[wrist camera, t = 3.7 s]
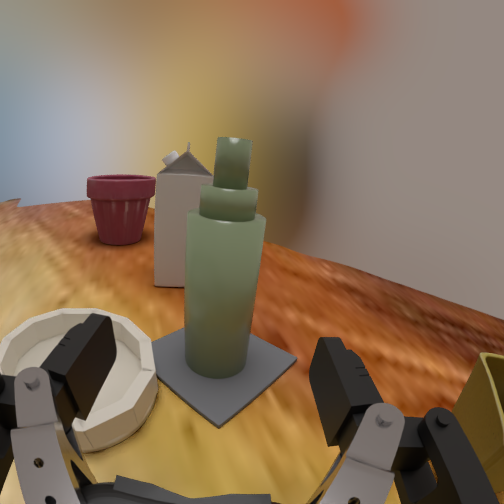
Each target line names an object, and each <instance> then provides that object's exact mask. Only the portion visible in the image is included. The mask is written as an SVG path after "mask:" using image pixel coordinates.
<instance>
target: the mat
mask: <svg viewBox="0 0 504 504" xmlns="http://www.w3.org/2000/svg"><path fill="white" fill-rule="evenodd" d="M151 344H152V351H153V358H154V364H155V370H156V377H157V378H158V379H160V380H161V381H162V382H163V383H164V384H165V385H166V386H167V387H168V388H169V389H171V390H172V391H173V392H174V393H175V394H176V395H177V396H179V397H180V398H181V399H182V400H183V401H184V402H186V403H187V404H188V405H189V406H190V407H192V408H193V409H194V410H195V411H197V412H198V413H199V414H200V415H202V416H203V417H204V418H205V419H207V420H208V421H209V422H211V423H212V424H213V425H215V426H216V427H217V428H220V427H221V426H222V425H224V424H225V423H226V422H228V421H229V420H230V419H231V418H233V417H234V416H235V415H236V414H237V413H239V412H240V411H241V410H242V409H244V408H245V407H246V406H247V405H248V404H249V403H251V402H252V401H253V400H254V399H255V398H257V397H258V396H259V395H260V394H261V393H262V392H263V391H265V390H266V389H267V388H268V387H269V386H270V385H271V384H272V383H273V382H275V381H276V380H277V379H278V378H279V377H280V376H281V375H282V374H283V373H284V372H285V371H286V370H287V369H289V368H290V367H291V366H292V365H293V364H294V363H295V362H296V361H297V357H295V356H293V355H291V354H289V353H287V352H285V351H283V350H281V349H279V348H277V347H275V346H273V345H272V344H270V343H268V342H266V341H264V340H262V339H260V338H258V337H256V336H255V335H253V334H251V333H250V339H249V346H248V353H247V360H246V365H245V367H244V369H243V370H242V371H241V372H240V373H238V374H237V375H234V376H232V377H229V378H224V379H212V378H207V377H203V376H201V375H199V374H197V373H195V372H194V371H192V370H191V369H190V368H189V367H188V365H187V363H186V361H185V336H184V328H182V329H180V330H177V331H175V332H173V333H171V334H169V335H166V336H164V337H162V338H160V339H158V340H155V341H153V342H151Z"/></svg>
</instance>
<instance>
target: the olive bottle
mask: <svg viewBox="0 0 504 504" xmlns="http://www.w3.org/2000/svg"><path fill="white" fill-rule="evenodd" d="M252 142H253V141H251V140H246V139H238V138H227V137H218V140H217V149H216V158H215V167H214V176H213V184H202V185H201V192H200V204H199V208H196V209H192V210H189V211H188V213H187V231H186V252H185V289H184V336H185V361H186V363H187V365H188V367H189V368H190V369H191V370H192V371H194V372H195V373H197V374H199V375H201V376H203V377H207V378H212V379H224V378H229V377H232V376H234V375H237V374H238V373H240V372H241V371H242V370H243V369H244V367H245V365H246V360H247V353H248V346H249V339H250V332H251V325H252V318H253V311H254V304H255V297H256V290H257V283H258V276H259V268H260V261H261V254H262V247H263V239H264V232H265V224H266V218H265V217H263V216H261V215H259V214H256V205H257V197H258V190H257V189H255V188H251V187H247V183H248V175H249V166H250V159H251V150H252Z"/></svg>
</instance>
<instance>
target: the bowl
mask: <svg viewBox="0 0 504 504" xmlns="http://www.w3.org/2000/svg"><path fill="white" fill-rule="evenodd" d="M92 313H95V314H100V315H105V316H109V317H110V318H111V320H112V325H113V331H114V336H115V341H116V347H117V356H116V360H115V363H114V365H113V367H112V369H111V371H110V372H109V374H108V376H107V378H106V380H105V382H104V384H103V386H102V388H101V390H100V392H99V394H98V396H97V398H96V400H95V402H94V405H93V407H92V409H91V411H90V413H89V415H88V417H87V419H86V421H84V420H81V419H78V418H76V417H75V419H74V421H73V423H72V424H73V425H74V428H75V431H76V434H77V437H78V440H79V443H80V446H81V449H82V451H83V453H87V452H95V451H99V450H103V449H106V448H109V447H112V446H114V445H116V444H118V443H120V442H122V441H124V440H125V439H127V438H128V437H130V436H131V435H132V434H133V433H135V432H136V431H137V430H138V429H139V428H140V427H141V426H142V425H143V423H144V422H145V421H146V419H147V418H148V416H149V415H150V413H151V411H152V409H153V406H154V403H155V400H156V394H157V392H158V384H157V377H156V370H155V364H154V358H153V351H152V344H151V339H150V338H149V337H148V336H147V335H146V334H145V333H143V332H142V331H141V330H140V329H139V328H138V327H137V326H136V325H135V324H134V323H133V322H132V321H130V320H129V319H128V318H126V317H122V316H119V315H116V314H113V313H109V312H106V311H103V310H100V309H97V308H62V309H58V310H55V311H52V312H48V313H45V314H42V315H38V316H35V317H32V318H29V319H28V320H26V321H25V322H24V323H22V324H21V325H20V326H18V327H17V328H16V329H14V330H13V331H12V332H10V333H9V334H8V335H7V336H5V337H4V338H3V340H2V342H1V344H0V373H1V374H2V375H9V376H17V375H18V373H19V372H21V371H22V370H24V369H26V368H29V367H40V366H41V364H42V363H43V362H44V360H45V359H46V358H47V357H48V355H49V354H50V353H51V351H52V350H53V349H54V348H55V346H56V345H58V343H59V341H60V340H61V339H62V338H63V337H64V335H65V334H66V333H67V332H68V331H69V329H71V328H72V327H74V326H76V325H77V324H79V323H84V321H85V320H86V319H87V318H88V317H89V315H90V314H92Z"/></svg>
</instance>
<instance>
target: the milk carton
mask: <svg viewBox="0 0 504 504" xmlns="http://www.w3.org/2000/svg"><path fill="white" fill-rule="evenodd" d="M189 149H190V142H188V147H187V151H186V152H185V153H184V154H183V155H181V156H180V157H179V155H178V154H177V153H176V151H173V152H171V153H170V154H169V155H167V156H166V157H164V158H163V159H162V160H163V162H164V163H165V165H167V166H166V167H165V168H164V169H163V170H161V171H160V172H159V173H158V174H157V181H156V196H155V198H156V199H155V223H154V278H155V286H165V287H185V252H186V231H187V213H188V211H189V210H192V209H196V208H199V204H200V192H201V185H202V184H213V175H212V174H211V173H210V172H209V171H208V170H207V169H206V168H205V167H204V166H203V165H202V164H201V163H200V162H199V161H198V160H197V159H196V158H195V157H194V156H193V155H192V154H191V153H190V152H189Z"/></svg>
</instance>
